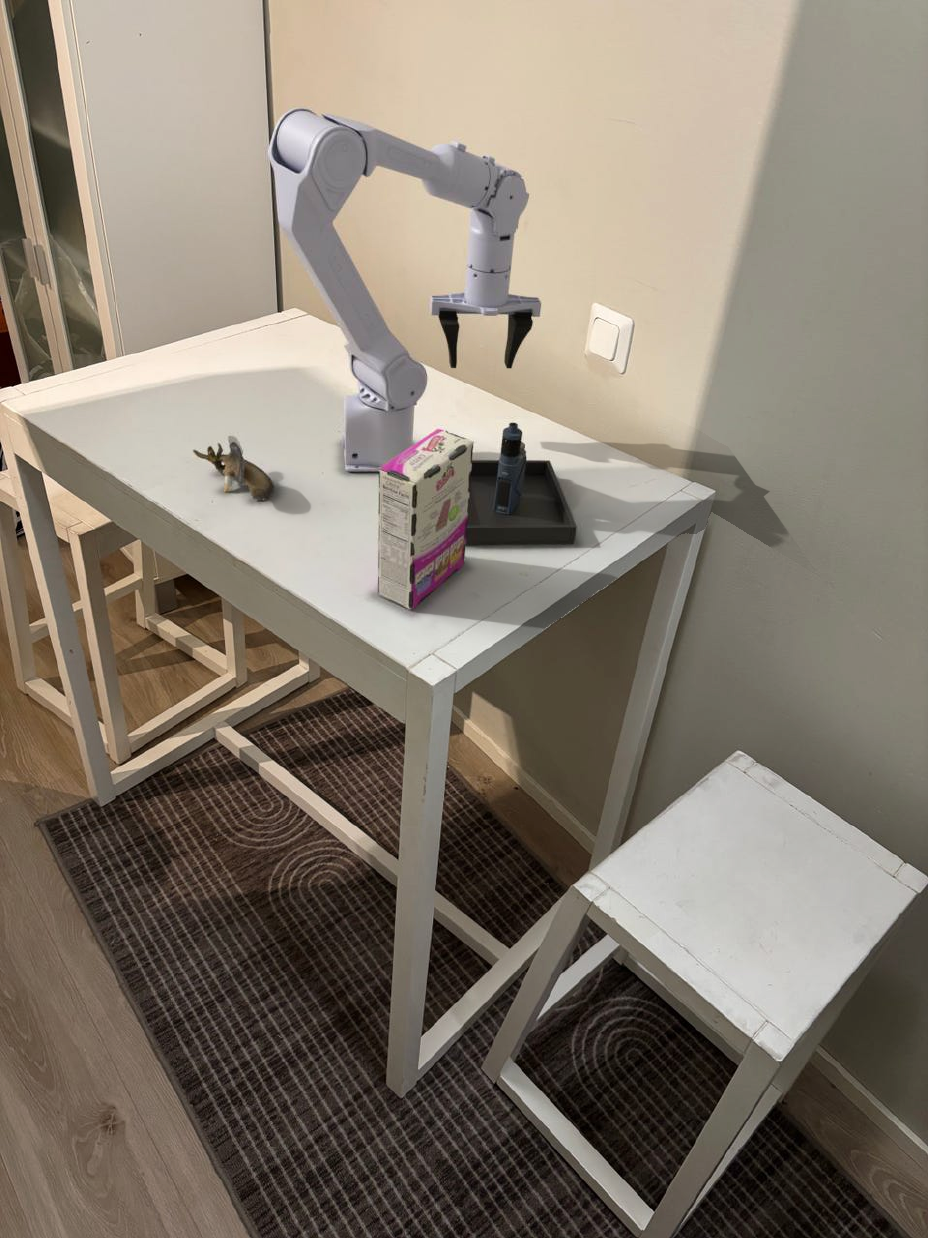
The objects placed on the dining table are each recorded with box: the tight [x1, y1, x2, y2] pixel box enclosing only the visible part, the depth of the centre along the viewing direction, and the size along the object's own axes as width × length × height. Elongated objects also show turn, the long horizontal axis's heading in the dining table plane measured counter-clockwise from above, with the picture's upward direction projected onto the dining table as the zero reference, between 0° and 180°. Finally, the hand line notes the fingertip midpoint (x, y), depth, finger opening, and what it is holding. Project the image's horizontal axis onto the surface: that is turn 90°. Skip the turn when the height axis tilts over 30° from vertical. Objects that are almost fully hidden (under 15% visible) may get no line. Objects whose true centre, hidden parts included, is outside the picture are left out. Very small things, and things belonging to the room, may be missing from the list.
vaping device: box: [494, 422, 527, 515], centre depth 119 cm, size 3×5×12 cm, turn 158°
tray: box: [465, 459, 578, 546], centre depth 122 cm, size 14×16×2 cm
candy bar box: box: [377, 428, 475, 611], centre depth 104 cm, size 11×5×16 cm, turn 148°
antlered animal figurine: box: [192, 435, 275, 502], centre depth 120 cm, size 8×7×9 cm
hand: (480, 365), depth 132 cm, fingers open, 7 cm apart
